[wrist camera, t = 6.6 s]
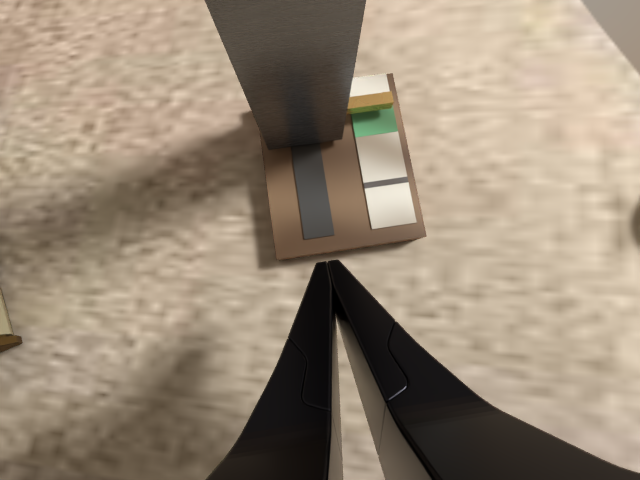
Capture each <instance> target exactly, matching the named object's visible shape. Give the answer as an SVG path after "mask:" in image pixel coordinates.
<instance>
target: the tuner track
mask: <svg viewBox="0 0 640 480" xmlns="http://www.w3.org/2000/svg"><path fill="white" fill-rule="evenodd" d="M389 91H392V96H393V101H394V103H393V105H392V108H390V109H383V110H376V111H369V112H362V113H355V114H348V115H346V120H345V126H344V132H343V138H342V140H335V141H328V142H321V143H314V144H307V145H300V146H293V147H286V148H279V149H272V150H268V148H267V145H266V143H265V141H264V138H263V136H262V134H261V131H260V137H261V145H262V152H263V160H264V167H265V175H266V183H267V190H268V198H269V206H270V213H271V221H272V229H273V236H274V244H275V252H276V259H278V260H285V259H291V258H298V257H304V256H311V255H317V254H324V253H330V252H337V251H343V250H350V249H357V248H363V247H370V246H376V245H383V244H389V243H396V242H402V241H409V240H416V239H420V238H423V237H426V231H425V227H424V222H423V217H422V212H421V207H420V203H419V198H418V193H417V188H416V183H415V179H414V174H413V169H412V164H411V159H410V155H409V150H408V145H407V140H406V136H405V131H404V126H403V121H402V116H401V112H400V107H399V102H398V97H397V92H396V88H395V83H394V78H393V73H392V74H386V73H384V74H377V75H370V76H362V77H355V78H353V79H352V85H351V91H350V97H353V96H361V95H368V94H375V93H382V92H389Z"/></svg>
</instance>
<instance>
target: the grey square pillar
mask: <svg viewBox="0 0 640 480" xmlns="http://www.w3.org/2000/svg"><path fill="white" fill-rule="evenodd" d="M205 2H206V4H207V7H208V9H209V11H210V14H211V16H212V19H213V21H214V23H215V26H216V28H217V30H218V33H219V35H220V37H221V40H222V42H223V44H224V47H225V49H226V51H227V54H228V56H229V58H230V61H231V63H232V65H233V68H234V70H235V73H236V75H237V77H238V80H239V82H240V84H241V87H242V89H243V91H244V94H245V96H246V98H247V101H248V103H249V105H250V108H251V110H252V112H253V115H254V117H255V120H256V122H257V124H258V127H259V129H260V131H261V134H262V136H263V138H264V141H265V143H266V145H267V148H268V150H272V149H279V148H286V147H293V146H300V145H307V144H314V143H321V142H328V141H335V140H342V138H343V132H344V126H345V120H346V115H348V114H355V113H362V112H369V111H376V110H383V109H390V108H392V105H393V103H394V101H393V96H392V91H389V92H382V93H375V94H368V95H361V96H353V97H350V91H351V85H352V79H353V74H354V68H355V62H356V56H357V50H358V44H359V39H360V33H361V27H362V21H363V15H364V9H365V4H366V0H205Z"/></svg>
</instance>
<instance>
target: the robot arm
mask: <svg viewBox="0 0 640 480" xmlns="http://www.w3.org/2000/svg"><path fill="white" fill-rule="evenodd" d="M335 314H336V315H335ZM336 318H337V322H338V326H339V329H340V332H341V336H342V339H343V342H344V345H345V349H346V352H347V355H348V359H349V362H350V365H351V368H352V372H353V375H354V378H355V381H356V385H357V388H358V391H359V395H360V398H361V401H362V404H363V408H364V411H365V414H366V418H367V421H368V424H369V427H370V431H371V434H372V437H373V441H374V444H375V447H376V450H377V454H378V455H379V460H380V464H381V467H382V470H383V473H384V477H385V480H640V473H637V472H634V471H631V470H628V469H625V468H622V467H619V466H616V465H614V464H612V463H609V462H607V461H605V460H602V459H600V458H598V457H596V456H594V455H592V454H590V453H588V452H586V451H584V450H582V449H580V448H578V447H576V446H573V445H571V444H569V443H567V442H565V441H563V440H561V439H559V438H557V437H555V436H553V435H551V434H549V433H547V432H544V431H542V430H540V429H538V428H536V427H534V426H532V425H530V424H528V423H526V422H524V421H522V420H520V419H518V418H516V417H513V416H511V415H509V414H507V413H505V412H503V411H501V410H500V409H498V408H496V407H494V406H493V405H491V404H490V403H488V402H487V401H485V400H484V399H482V398H481V397H480V396H478V395H477V394H476V393H475V392H473V391H472V390H471V389H470V388H469V387H467V386H466V385H465V384H464V383H463V382H462V381H460V380H459V379H458V378H457V377H456V376H455V375H454V374H452V373H451V372H450V371H449V370H448V369H447V368H445V367H444V366H443V365H442V364H441V363H440V362H438V361H437V360H436V359H435V358H434V357H433V356H432V355H430V354H429V353H428V352H427V351H426V350H425V349H424V348H423V347H422V346H420V345H419V344H418V343H417V342H416V341H415V340H414V339H413V338H412V337H411V336H410V335H409V334H408V333H407V332H406V331H405V330H404V329H403V328H402V327H401V326H400V325H399V323H398V322H395V319H394V318H393V317H392V316H391V315H390V314H389V313H388V312H387V311H386V310H385V309H384V308H383V307H382V305H381V304H380V303H379V302H378V301H377V300H376V299H375V298H374V297H373V296H372V295H371V294H370V293H369V292H368V291H367V289H366V288H365V287H364V286H363V285H362V284H361V283H360V282H359V281H358V280H357V279H356V278H355V277H354V276H353V275H352V273H351V272H350V271H349V270H348V269H347V268H346V267H345V266H344V265H343V264H342V263H341V262H340V261H339V260H331V261H328V263H327V262H326V261H324V262H318V263H316V265H315V267H314V270H313V273H312V275H311V278H310V281H309V283H308V286H307V288H306V291H305V294H304V296H303V299H302V302H301V304H300V307H299V309H298V312H297V315H296V317H295V320H294V323H293V325H292V328H291V330H290V333H289V336H288V339H287V341H286V343H285V346H284V348H283V351H282V353H281V356H280V358H279V360H278V363H277V365H276V367H275V369H274V371H273V373H272V375H271V377H270V380H269V382H268V384H267V385H266V387H265V389H264V391H263V393H262V395H261V397H260V399H259V401H258V403H257V405H256V406H255V408H254V410H253V412H252V414H251V416H250V418H249V420H248V422H247V424H246V426H245V427H244V429H243V431H242V433H241V435H240V436H239V438H238V440H237V441H236V443H235V444H234V446H233V447H232V449H231V450H230V451H229V453H228V454H227V455H226V457H225V458H224V459H223V460H222V461H221V463H220V464H219V465H218V466H217V467H216V468H215V469H214V471H213V472H212V473H211V474H210V475H209V476H208V477H207V479H206V480H343V464H342V440H341V417H340V394H339V372H338V349H337V326H336Z"/></svg>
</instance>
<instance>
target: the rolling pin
mask: <svg viewBox="0 0 640 480" xmlns="http://www.w3.org/2000/svg"><path fill="white" fill-rule="evenodd" d="M21 343H22V339H21V336H17V335H15V336H13V331H12V328H11V324H10V321H9V317H8V313H7V310H6V306H5V303H4V299H3V296H2V292H1V289H0V352H2V351H5V350H7V349H10V348H12V347H15V346H17V345H19V344H21Z"/></svg>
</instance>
